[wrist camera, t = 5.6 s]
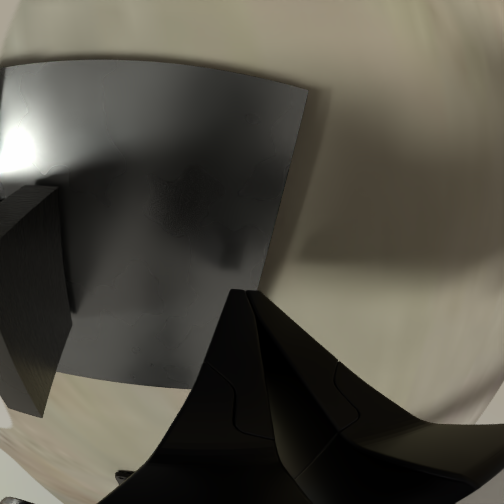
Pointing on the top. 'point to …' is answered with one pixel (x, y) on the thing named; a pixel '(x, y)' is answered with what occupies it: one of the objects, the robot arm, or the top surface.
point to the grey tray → (150, 199)
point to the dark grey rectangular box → (31, 297)
